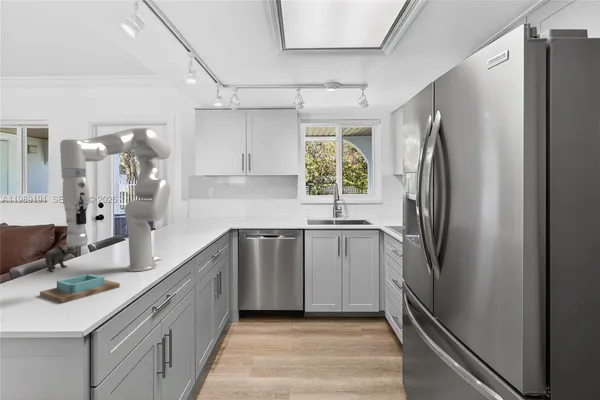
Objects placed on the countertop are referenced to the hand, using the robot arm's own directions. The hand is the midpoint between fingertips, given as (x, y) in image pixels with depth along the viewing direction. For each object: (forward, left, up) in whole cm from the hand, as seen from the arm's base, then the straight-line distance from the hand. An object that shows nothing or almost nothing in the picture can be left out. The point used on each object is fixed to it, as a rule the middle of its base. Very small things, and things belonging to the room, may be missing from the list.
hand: (76, 223), depth 129 cm
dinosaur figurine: (-12, -46, -25) cm, 54 cm away
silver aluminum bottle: (0, 0, -9) cm, 9 cm away
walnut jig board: (0, 0, -25) cm, 25 cm away
